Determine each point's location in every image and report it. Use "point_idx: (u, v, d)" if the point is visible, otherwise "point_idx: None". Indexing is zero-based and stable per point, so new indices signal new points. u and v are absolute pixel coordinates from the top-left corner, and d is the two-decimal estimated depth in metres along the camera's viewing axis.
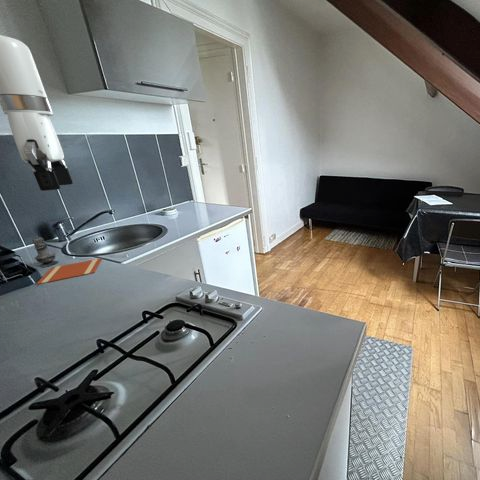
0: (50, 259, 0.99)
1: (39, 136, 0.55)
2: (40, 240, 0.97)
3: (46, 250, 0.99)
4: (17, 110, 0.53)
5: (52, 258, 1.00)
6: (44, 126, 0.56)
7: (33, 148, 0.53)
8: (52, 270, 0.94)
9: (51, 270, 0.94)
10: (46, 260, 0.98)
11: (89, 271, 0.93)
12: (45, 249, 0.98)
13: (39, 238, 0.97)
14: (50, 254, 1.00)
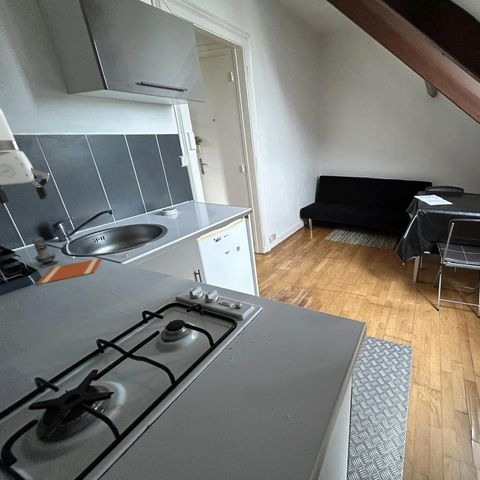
0: (50, 259, 0.99)
1: (31, 165, 0.88)
2: (40, 240, 0.97)
3: (46, 250, 0.99)
4: (17, 150, 0.84)
5: (52, 258, 1.00)
6: None
7: None
8: (52, 270, 0.94)
9: (51, 270, 0.94)
10: (46, 260, 0.98)
11: (89, 271, 0.93)
12: (45, 249, 0.98)
13: (39, 238, 0.97)
14: (50, 254, 1.00)
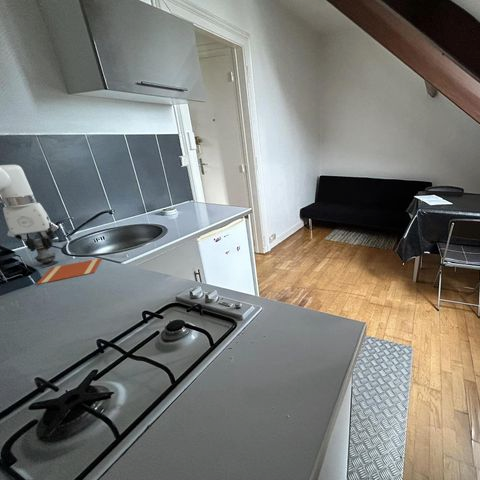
0: (50, 259, 0.99)
1: None
2: (40, 240, 0.97)
3: (46, 250, 0.99)
4: (35, 202, 0.94)
5: (52, 258, 1.00)
6: None
7: None
8: (52, 270, 0.94)
9: (51, 270, 0.94)
10: (46, 260, 0.98)
11: (89, 271, 0.93)
12: (45, 249, 0.98)
13: (39, 238, 0.97)
14: (50, 254, 1.00)
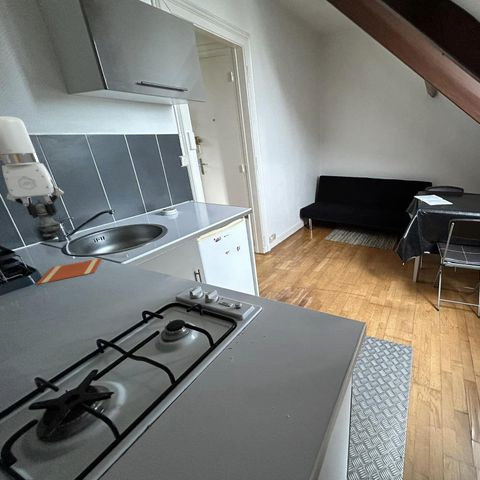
0: (54, 228, 0.89)
1: None
2: (43, 206, 0.87)
3: (50, 217, 0.89)
4: (38, 162, 0.83)
5: (56, 227, 0.90)
6: None
7: None
8: (52, 270, 0.94)
9: (51, 270, 0.94)
10: (50, 228, 0.88)
11: (89, 271, 0.93)
12: (49, 216, 0.88)
13: (42, 203, 0.87)
14: (54, 222, 0.89)
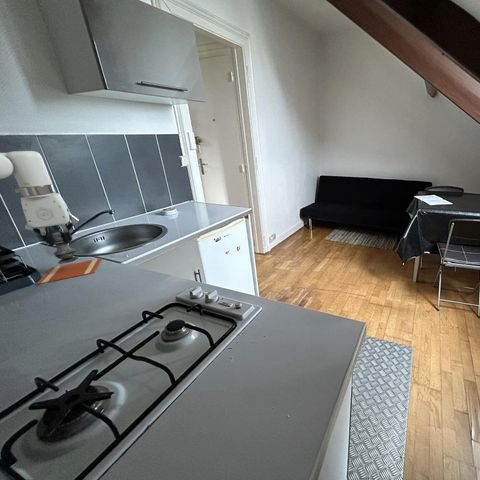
0: (70, 255, 0.92)
1: None
2: (60, 234, 0.89)
3: (66, 245, 0.91)
4: (54, 193, 0.86)
5: (72, 254, 0.92)
6: None
7: None
8: (52, 270, 0.94)
9: (51, 270, 0.94)
10: (66, 256, 0.91)
11: (89, 271, 0.93)
12: (65, 244, 0.91)
13: (58, 232, 0.89)
14: (70, 249, 0.92)
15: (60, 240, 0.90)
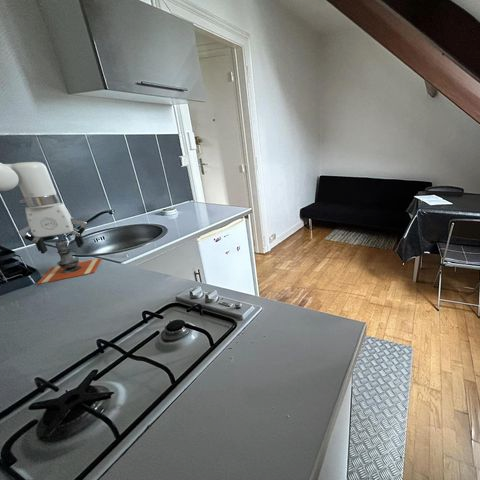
0: (74, 264, 0.93)
1: (70, 215, 0.91)
2: (63, 244, 0.90)
3: (69, 255, 0.92)
4: (58, 203, 0.87)
5: (76, 263, 0.93)
6: None
7: None
8: (52, 270, 0.94)
9: (51, 270, 0.94)
10: (69, 265, 0.92)
11: (89, 271, 0.93)
12: (68, 254, 0.92)
13: (62, 242, 0.91)
14: (73, 259, 0.93)
15: (64, 250, 0.91)
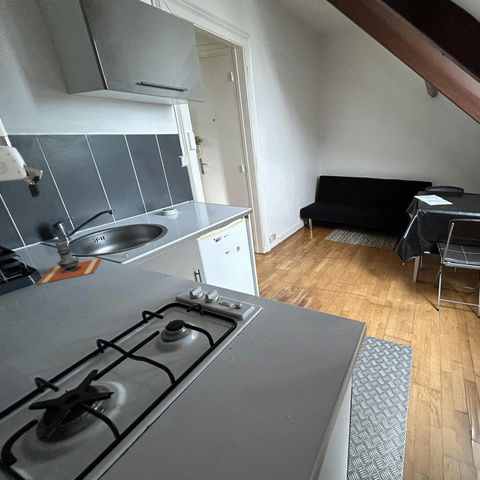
0: (74, 264, 0.93)
1: (24, 162, 0.86)
2: (63, 244, 0.90)
3: (69, 255, 0.92)
4: (9, 146, 0.82)
5: (76, 263, 0.93)
6: None
7: None
8: (52, 270, 0.94)
9: (51, 270, 0.94)
10: (69, 265, 0.92)
11: (89, 271, 0.93)
12: (68, 254, 0.92)
13: (62, 242, 0.91)
14: (73, 259, 0.93)
15: (64, 250, 0.91)
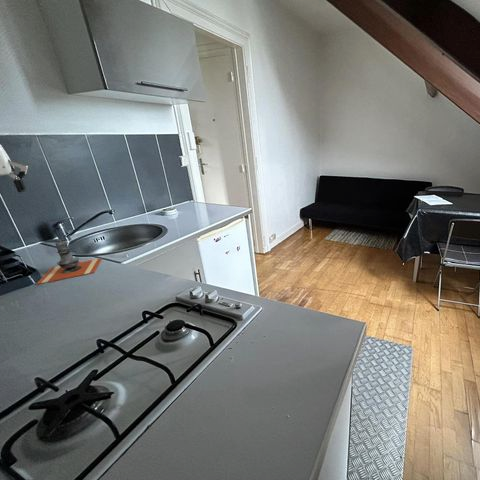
0: (74, 264, 0.93)
1: (9, 158, 0.86)
2: (63, 244, 0.90)
3: (69, 255, 0.92)
4: None
5: (76, 263, 0.93)
6: None
7: None
8: (52, 270, 0.94)
9: (51, 270, 0.94)
10: (69, 265, 0.92)
11: (89, 271, 0.93)
12: (68, 254, 0.92)
13: (62, 242, 0.91)
14: (73, 259, 0.93)
15: (64, 250, 0.91)
